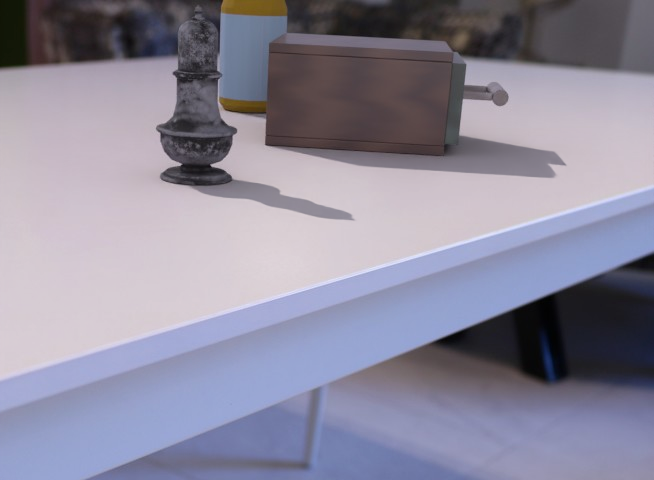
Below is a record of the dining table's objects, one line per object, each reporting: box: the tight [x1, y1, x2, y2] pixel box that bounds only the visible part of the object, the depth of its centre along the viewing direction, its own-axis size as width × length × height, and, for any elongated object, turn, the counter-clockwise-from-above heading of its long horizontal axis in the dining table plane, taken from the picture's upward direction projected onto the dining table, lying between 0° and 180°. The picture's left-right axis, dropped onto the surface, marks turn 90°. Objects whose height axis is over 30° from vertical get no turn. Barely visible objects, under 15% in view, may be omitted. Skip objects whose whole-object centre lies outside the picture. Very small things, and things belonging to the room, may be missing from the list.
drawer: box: [445, 51, 510, 146], centre depth 97 cm, size 19×13×7 cm
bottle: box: [218, 0, 288, 114], centre depth 112 cm, size 7×7×15 cm
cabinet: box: [264, 32, 454, 157], centre depth 97 cm, size 16×15×9 cm
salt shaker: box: [155, 4, 238, 186], centre depth 75 cm, size 6×6×12 cm
